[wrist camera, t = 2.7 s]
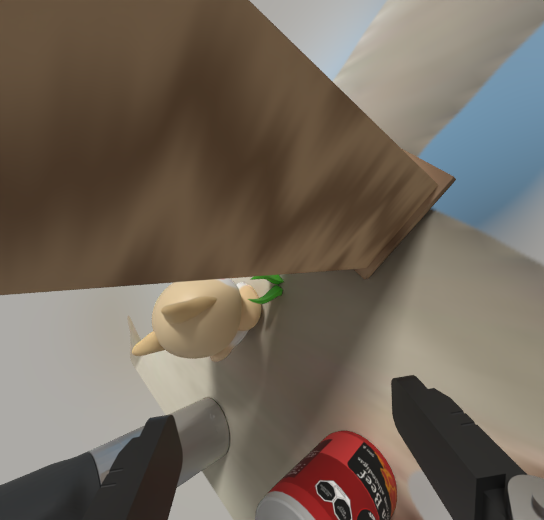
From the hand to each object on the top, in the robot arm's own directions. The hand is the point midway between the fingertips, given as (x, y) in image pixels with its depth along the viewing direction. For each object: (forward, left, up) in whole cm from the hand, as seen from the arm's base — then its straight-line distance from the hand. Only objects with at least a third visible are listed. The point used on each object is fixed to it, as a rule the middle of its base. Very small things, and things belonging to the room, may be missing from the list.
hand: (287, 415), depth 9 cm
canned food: (-16, -6, -18) cm, 25 cm away
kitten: (-15, +16, -18) cm, 28 cm away
